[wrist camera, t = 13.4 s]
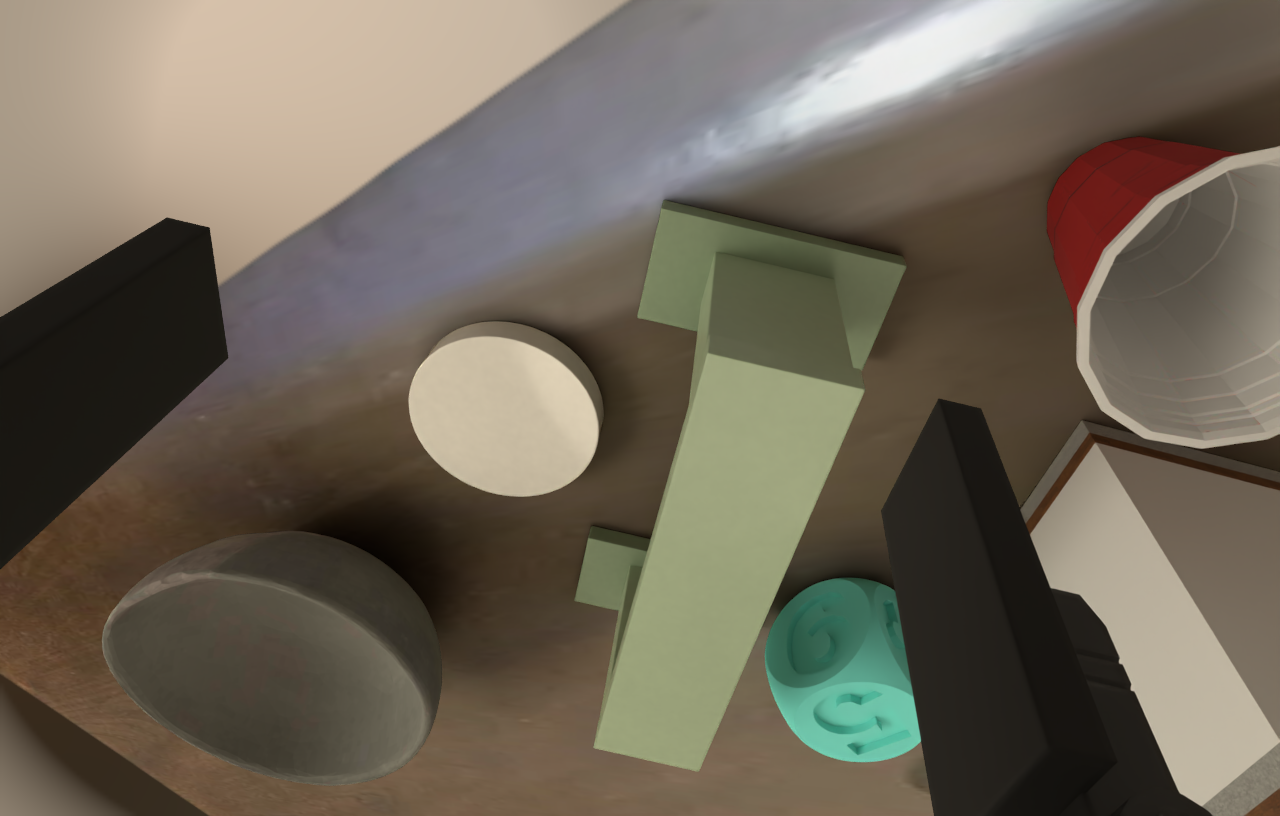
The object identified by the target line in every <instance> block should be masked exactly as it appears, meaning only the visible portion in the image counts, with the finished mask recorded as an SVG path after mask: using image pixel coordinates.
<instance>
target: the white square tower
mask: <svg viewBox="0 0 1280 816" xmlns="http://www.w3.org/2000/svg"><path fill="white" fill-rule="evenodd" d="M1020 510H1021V513H1022V516H1023V518H1024V521H1025V523H1026V526H1027V528H1028V531H1029V534H1030V536H1031V539H1032V541H1033V544H1034V547H1035V549H1036V552H1037V554H1038V557H1039V559H1040V562H1041V565H1042V567H1043V570H1044V572H1045V575H1046V578H1047V580H1048V583H1049V585H1050V588H1053V589H1058V590H1062V591H1066V592H1070V593H1075V594H1079V595H1080V596H1081V597H1082V598H1083V599H1084V600H1085V602H1086V603H1087V604H1088V605H1089V606H1090V608H1091V609H1092V610H1093V611H1094V612H1095V614H1096V615H1097V616H1098V617H1099V618H1100V620H1101V621H1102V622H1103V623H1104V624H1105V626H1106V627H1107V630H1108V632H1109V634H1110V637H1111V639H1112V641H1113V643H1114V646H1115V648H1116V650H1117V652H1118V655H1119V657H1120V659H1119V664H1123V666H1124V668H1125V671H1126V673H1127V675H1128V677H1129V680H1130V682H1131V684H1132V685H1131V691H1135V693H1136V696H1137V698H1138V700H1139V702H1140V705H1141V707H1142V709H1143V712H1144V714H1145V716H1146V718H1147V721H1148V723H1149V725H1150V728H1151V730H1152V732H1153V734H1154V737H1155V739H1156V741H1157V743H1158V746H1159V748H1160V750H1161V753H1162V755H1163V757H1164V759H1165V762H1166V764H1167V766H1168V768H1169V771H1170V773H1171V775H1172V778H1173V780H1174V782H1175V784H1176V787H1177V789H1178V791H1179V793H1180V794H1183V795H1184V796H1186V797H1187V798H1189V799H1191V800H1192V801H1194V802H1195V803H1197V804H1198V805H1200V806H1202V807H1203V808H1205V809H1206V810H1208V811H1209V812H1210V813H1211V814H1212V815H1213V816H1280V472H1278V471H1274V470H1270V469H1266V468H1262V467H1259V466H1255V465H1251V464H1247V463H1243V462H1239V461H1236V460H1232V459H1228V458H1224V457H1220V456H1217V455H1213V454H1209V453H1205V452H1201V451H1198V450H1194V449H1190V448H1186V447H1182V446H1178V445H1175V444H1171V443H1166V442H1160V441H1154V440H1149V439H1144V438H1142V437H1141V436H1139V435H1137V434H1133V433H1129V432H1125V431H1121V430H1117V429H1114V428H1110V427H1106V426H1102V425H1098V424H1095V423H1091V422H1087V421H1083V420H1081V422H1080V423H1079V425H1078V426H1077V428H1076V429H1075V430H1074V432H1073V433H1072V435H1071V436H1070V438H1069V439H1068V441H1067V442H1066V444H1065V445H1064V447H1063V448H1062V449H1061V451H1060V452H1059V454H1058V455H1057V457H1056V458H1055V460H1054V461H1053V463H1052V464H1051V466H1050V467H1049V469H1048V470H1047V471H1046V473H1045V474H1044V476H1043V477H1042V479H1041V480H1040V482H1039V483H1038V485H1037V486H1036V488H1035V489H1034V490H1033V492H1032V493H1031V495H1030V496H1029V498H1028V499H1027V501H1026V502H1025V504H1024V505H1023V507H1022V508H1021V509H1020Z"/></svg>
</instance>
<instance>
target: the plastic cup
mask: <svg viewBox="0 0 1280 816" xmlns="http://www.w3.org/2000/svg"><path fill="white" fill-rule="evenodd" d="M1047 233H1048V236H1049V239H1050V241H1051V244H1052V247H1053V250H1054V260H1055V263H1056V266H1057V269H1058V271H1059V274H1060V277H1061V280H1062V283H1063V285H1064V288H1065V291H1066V294H1067V296H1068V299H1069V302H1070V305H1071V308H1072V310H1073V313H1074V323H1075V325H1076V328H1077V351H1076V361H1077V365H1078V368H1079V370H1080V372H1081V374H1082V376H1083V377H1084V379H1085V381H1086V383H1087V385H1088V387H1089V389H1090V390H1091V392H1092V394H1093V396H1094V398H1095V400H1096V402H1097V404H1098V405H1099V407H1100V409H1101V411H1103V412H1104V413H1106V414H1107V415H1109V416H1110V417H1112V418H1113V419H1115V420H1116V421H1118V422H1120V423H1121V424H1123V425H1124V426H1126V427H1127V428H1129V429H1130V430H1132V431H1133V432H1135V433H1136V434H1138V435H1139V436H1141V437H1142V438H1144V439H1149V440H1154V441H1160V442H1166V443H1172V444H1177V445H1183V446H1189V447H1194V448H1200V449H1204V448H1211V447H1218V446H1225V445H1232V444H1239V443H1246V442H1253V441H1260V440H1267V439H1269V438H1271V437H1274V436H1276V435H1278V434H1280V146H1277V147H1272V148H1268V149H1263V150H1258V151H1253V152H1248V153H1243V154H1239V153H1233V152H1228V151H1222V150H1217V149H1211V148H1206V147H1200V146H1194V145H1188V144H1183V143H1177V142H1171V141H1169V142H1167V141H1162V140H1156V139H1151V138H1145V137H1134V138H1132V137H1131V138H1126V139H1121V140H1116V141H1111V142H1106V143H1103V144H1101V145H1099V146H1097V147H1096V148H1094V149H1092V150H1090V151H1089V152H1087V153H1085V154H1083V155H1081V156H1080V157H1078V158H1077V159H1076V160H1075V161H1074V162H1073V163H1072V164H1071V165H1070V166H1069V167H1068V169H1067V170H1066V171H1065V172H1064V173H1063V174H1062V175H1061V176H1060V177H1059V178H1058V180H1057V182H1056V184H1055V187H1054V189H1053V191H1052V193H1051V196H1050V198H1049V200H1048V207H1047Z"/></svg>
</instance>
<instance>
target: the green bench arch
mask: <svg viewBox="0 0 1280 816" xmlns="http://www.w3.org/2000/svg"><path fill="white" fill-rule="evenodd" d="M906 267H907V266H906V263H905V261H904V258H903V256H899V255H895V254H890V253H886V252H882V251H878V250H873V249H869V248H865V247H861V246H857V245H852V244H848V243H844V242H840V241H835V240H831V239H827V238H823V237H818V236H814V235H810V234H806V233H802V232H797V231H793V230H789V229H785V228H780V227H776V226H772V225H768V224H763V223H759V222H755V221H751V220H747V219H742V218H738V217H734V216H730V215H725V214H721V213H717V212H713V211H708V210H704V209H700V208H696V207H692V206H687V205H683V204H679V203H675V202H670V201H666V200H664V201H663V204H662V208H661V212H660V217H659V221H658V226H657V230H656V235H655V239H654V244H653V248H652V253H651V257H650V262H649V266H648V271H647V275H646V280H645V284H644V289H643V293H642V298H641V302H640V307H639V311H638V316H637V317H638V318H641V319H645V320H650V321H654V322H658V323H663V324H667V325H671V326H675V327H680V328H684V329H688V330H692V331H697V332H698V333H697V341H696V349H695V358H694V366H693V374H692V383H691V391H690V400H689V407H688V410H687V414H686V417H685V421H684V424H683V428H682V431H681V435H680V438H679V442H678V445H677V449H676V452H675V456H674V459H673V463H672V466H671V470H670V473H669V477H668V480H667V484H666V487H665V491H664V494H663V498H662V501H661V505H660V508H659V512H658V515H657V519H656V522H655V526H654V529H653V533H652V537H651V539H647V538H643V537H639V536H634V535H630V534H625V533H621V532H617V531H612V530H608V529H604V528H599V527H595V526H591V529H590V533H589V537H588V541H587V546H586V550H585V555H584V559H583V564H582V568H581V573H580V577H579V582H578V586H577V591H576V595H575V601H578V602H582V603H586V604H591V605H595V606H599V607H604V608H608V609H613V610H617V611H619V614H618V619H617V625H616V630H615V636H614V641H613V647H612V652H611V658H610V663H609V669H608V674H607V680H606V685H605V691H604V696H603V702H602V707H601V713H600V719H599V722H598V726H597V732H596V737H595V743H594V748H596V749H600V750H605V751H609V752H614V753H618V754H622V755H627V756H631V757H636V758H640V759H645V760H649V761H653V762H658V763H662V764H667V765H671V766H675V767H680V768H684V769H689V770H693V771H698V772H699V770H700V768H701V765H702V763H703V761H704V758H705V756H706V754H707V752H708V749H709V747H710V745H711V742H712V740H713V738H714V736H715V733H716V731H717V729H718V726H719V724H720V722H721V720H722V717H723V715H724V713H725V710H726V708H727V706H728V703H729V701H730V699H731V697H732V694H733V692H734V690H735V687H736V685H737V683H738V681H739V678H740V676H741V674H742V671H743V669H744V667H745V665H746V662H747V660H748V658H749V655H750V653H751V651H752V648H753V646H754V644H755V642H756V639H757V637H758V635H759V632H760V630H761V628H762V626H763V623H764V621H765V619H766V616H767V614H768V612H769V610H770V607H771V605H772V603H773V600H774V598H775V596H776V593H777V591H778V589H779V587H780V584H781V582H782V580H783V577H784V575H785V573H786V571H787V568H788V566H789V564H790V561H791V559H792V557H793V554H794V552H795V550H796V548H797V545H798V543H799V541H800V538H801V536H802V534H803V532H804V529H805V527H806V525H807V522H808V520H809V518H810V516H811V513H812V511H813V509H814V506H815V504H816V502H817V499H818V497H819V495H820V493H821V490H822V488H823V486H824V483H825V481H826V479H827V477H828V474H829V472H830V470H831V467H832V465H833V463H834V461H835V458H836V456H837V454H838V451H839V449H840V447H841V444H842V442H843V440H844V438H845V435H846V433H847V431H848V428H849V426H850V424H851V422H852V419H853V417H854V415H855V412H856V410H857V408H858V406H859V403H860V401H861V399H862V396H863V394H864V392H865V386H864V382H863V377H862V373H861V370H863V368H864V365H865V363H866V361H867V358H868V356H869V354H870V351H871V349H872V347H873V344H874V342H875V339H876V337H877V335H878V332H879V330H880V328H881V325H882V323H883V321H884V318H885V316H886V314H887V311H888V309H889V307H890V304H891V302H892V300H893V297H894V295H895V293H896V290H897V288H898V286H899V283H900V281H901V278H902V276H903V274H904V271H905V269H906Z"/></svg>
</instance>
